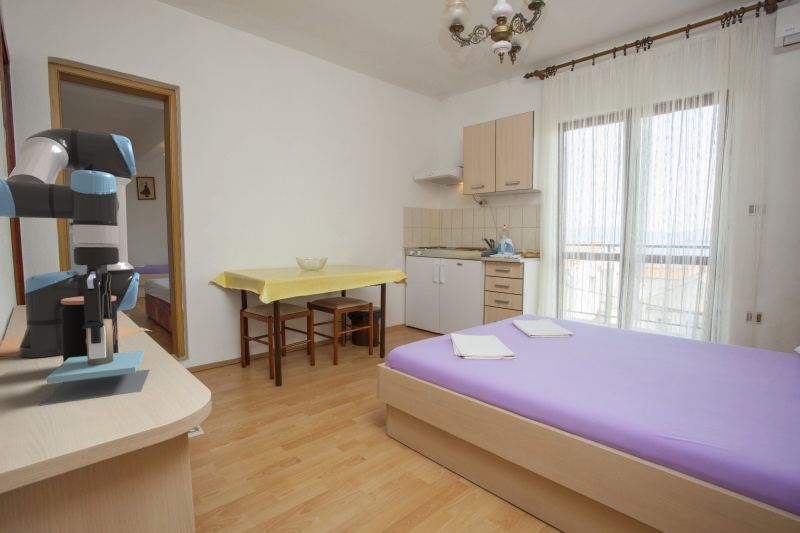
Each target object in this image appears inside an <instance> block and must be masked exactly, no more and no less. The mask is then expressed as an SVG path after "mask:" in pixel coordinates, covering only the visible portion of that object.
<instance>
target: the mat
mask: <svg viewBox="0 0 800 533" xmlns="http://www.w3.org/2000/svg"><path fill="white" fill-rule="evenodd" d="M150 370H151V369H143V370H136V372H135V373H130V374H122V375H114V376H106V377H97V378H89V379H81V380H72V381H64V382H60V384H59V385H57V387H55V389H54V390H53V391H52V392H51V393H50V394H49V395H48V396H47V397H45V399H44V400H43V401H41V402H40V403H39V404H38V407H39V406H40V407H41V406H49V405H55V404H60V403H68V402H75V401H76V402H77V401H81V400H82V401H83V400H91V399H96V398H98V399H99V398H102V397H103V398H104V397H111V396H117V395H118V396H119V395H125V394H132V393H140V392H142V390H143V388H144V384H145V382H146V380H147V378H148V375H149V373H150Z"/></svg>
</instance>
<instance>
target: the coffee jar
mask: <svg viewBox="0 0 800 533" xmlns="http://www.w3.org/2000/svg"><path fill="white" fill-rule="evenodd" d="M115 300H116V296H111V308H112V316H111V317H114V321H112V330H113V353H119V338H118V337H119V334H118V332H119V330H118V311H117V306H116V305H115V304H114V302H115ZM61 304H63V305H64V308H63V309H62V311H61V318H62V342H63V355H62V361H63V362H62V364H63V363H64V362H65V361H66V360H67V359H68V358H72V357H82V356H87V333H86V329H83V326H85V314H84V296H81V297H72V298H65V299H62V300H61Z"/></svg>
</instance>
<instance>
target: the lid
mask: <svg viewBox="0 0 800 533" xmlns="http://www.w3.org/2000/svg"><path fill="white" fill-rule="evenodd" d="M103 323H104V326H105V338H106V358H97V359H89V341H88V328H86V333H87V356H82V357H72V358H68V359H67V360H66V361H65V362H64V363H63V362H62V363H61V364H60V365H59V366H58V367H57V368H56V369H55V370H54V371H52V372H51V373H50V374H48V376H46V384H53V383H54V384H55V383H62V382H64V381H72V380H81V379H89V378H97V377H106V376H114V375H122V374H130V373H135V372H136V371H138V368H139V366H140V364H141V362H142V360H143V358H144V356H145V350H135V351H134V350H133V351H125V352H118V353H113V330H112V319H103Z"/></svg>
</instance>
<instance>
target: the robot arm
mask: <svg viewBox="0 0 800 533" xmlns="http://www.w3.org/2000/svg"><path fill="white" fill-rule="evenodd" d="M133 152H134V151H133V147H132V142H131V140H130V139H129V138H128V137H126V136H123V135H118V134H114V133H110V132H109V133H108V132H107V133H106V132H100V131H99V132H97V131H90V130H85V129H84V130H83V129H75V128H74V129H73V128H69V127H55V128H49V129H46V130H42V131H38V132H35V133H34V134H31V135H30V136H28V137H27V138H26V139H25V140H24V141H23V143H22V145H21V146H20V157H19V159H18V161H17V162H16V164H15V167H14V168H13V169H12V171H11V173H10V174H9V176H8V177H7V179H0V217H5V218H11V219H15V218H27V219H28V218H29V219H30V218H31V219H32V218H33V219H58V220H59V219H60V220H62V219H63V220H65V219H67V220H72V229H69V234H70V235H73V240H72V241H73V244H75V245H77V246H75V247H74V248H73V263H74V265H76V266H86V273H84V274H80V272H79V271H78V270H77V269H71V270H64V271H63V270H62V271H55V272H47V273H39V274H33V275H31V276H29V277H27V278H26V279H25V289H24V292H23V293H24V295H25V311H26V312H25V314H26V329H25V332H24V334H23V337H22V338H21V342H20V344H19V348H18V350H19V351H18V352H19V354H18V355H19V356H20V357H22V358H29V359H30V358H47V357H55V356H61V355H62V356H63V342H62V318H61V311H62V309H63V308H64V305H63V304H61V300H62V299H65V298H72V297H81V296H84V314H85V326H83V329H86V328H88V341H89V359H97V358H106V338H105V326H104V323H103V319H112V321H114V317H111V316H112V308H111V296H116V300H115V302H114V304H115V305H116V306H117V312H119V311H120V312H121V311H127V310H132V309H134V307H136V304H137V299H138V293H139V292H138V291H139V284H140V283H139V282H140V273H138V272H135V267H134V266H133V265H132V264H130V263H129V259H128V258H129V255H128V252H129V251H128V231H127V230H128V228H127V227H128V226H127V225H128V222H127V221H128V220H127V198H126V197H127V195H126V186H127V185H128V184H129V183H130V182H132V177H134V176H136V175H137V168H136V163H135V157H134V153H133ZM62 170H72V172H71V174H70V184H60V183H59V184H56V182H57V178H58V176H59V173H60V171H62Z"/></svg>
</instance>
